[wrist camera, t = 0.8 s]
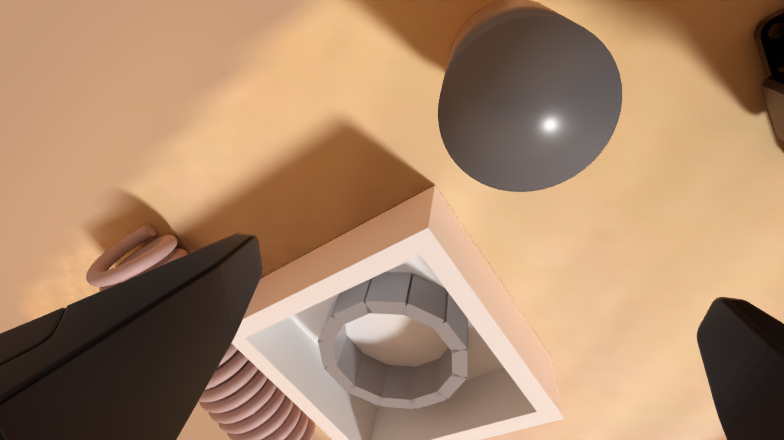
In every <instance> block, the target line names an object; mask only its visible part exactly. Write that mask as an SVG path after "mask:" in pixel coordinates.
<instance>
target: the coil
mask: <svg viewBox="0 0 784 440" xmlns="http://www.w3.org/2000/svg"><path fill="white" fill-rule="evenodd" d="M156 234H157V232H156V231H155V230H154V229H153V227H152V226H151V225H150V224H146V225H144V226H142V227H140V228H139V229H137V230H135V231H134V232H132V233H130V234H129V235H127V236H126V237H124V238H123V239H122V240H120V241H119V242H117V243H116V244H115V245H113V246H112V247H111V248H109V249H108V250H107V251H106V252H105V253H103V254H102V255H101V256H100V257H99V258H98V259H97V260H96V261H95V262H94V263H93V264H92V266H91V267H90V268H89V270H88V272H87V275H86V277H87V281H88V283H89V284H90V285H93V286H95V287H100V292H101V291H103V290H105V289H108V288H110V287H112V286H115V285H117V284H119V283H121V282H122V281H124V280H127V279H128V280H129V279H131V278H133V277H136V276H138V275H140V274H143V273H145V272H147V271H150V270H152V269H154V268H157V267H159V266H161V265H164V264H166V263H168V262H171V261H173V260H175V259H178V258H180V257H182V256H185V255H187V252H186V251H185V250H184V249H179V248H178V249H174V248H175V247H176V246H177V239H176V237H175V236H173V235H164V236H162V237H159V238H157V239H155V240H153V241H151V242H149V243H148V244H146V245H144V246H143V247H141V248H140V249H138V250H137V251H135V252H134V253H132V254H131V255H130V256H128V257H127V258H126V259H125V260H123V261H122V262H121V263H120V264H119V265H117V266H116V267H115V268H113V269H110V270H108V269H109V268H110V267H111V266H112V265H113V264H114V263H115V262H116V261H117V260H119V259H120V258H121V257H122V256H124V255H125V254H126V253H127V252H129V251H130V250H132V249H133V248H134V247H136V246H137V245H139V244H140V243H142V242H144V241H145V240H147V239H149V238H151V237H152V236H154V235H156ZM173 249H174V250H173ZM256 393H257V394H256ZM255 394H256V395H255ZM254 395H255V396H254ZM253 396H254V397H253ZM252 397H253V398H252ZM251 398H252V399H251ZM250 399H251V400H250ZM249 400H250V401H249ZM199 403H200V405H201V407H202V408H203V409H204V410H206V411H208V412H209V414H210V416H211V418H212V419H213V420H214V421H216V422H218V424H219V426H220V428H221V429H222V430H223V431H225V432H227V434H228V436H229V437H230V439H231V440H313V437H314V433H315V422H313V421H312V420H311V419H310V418H309V417H308V416H307V415H306V414H305V413H304V412H303V411H302V410H301V409H300V408H299V407H298V406H297V405H296V404H295V403H294V402H293V401H291V400H290V399H289V398H288V397H287V396H286V395H285V394H284V393H283V392H282V391H281V390H280V389H279V388H278V387H277V386H276V385H275V384H274V383H273V382H272V381H271V380H269V379H268V378H267V377H266V376H265V375H264V374H263V373H262V372H261V371H260V370H259V369H258V368H257V367H256V366H255V365H254V364H253V363H252V362H251V361H250V360H248V359H247V358H246V357H245V356H244V355H243V354H242V353H241V352H240V351H239V350H238V349H237V348H236V347H235V346H234V345H233V344H232V343H231V345H230V347H229V348H228V350H227V352H226V354H225V355H224V357H223V359H222V361H221V362H220V364H219V366H218V368H217V369H216V371H215V373H214V375H213V376H212V378H211V380H210V382H209V383H208V385H207V387H206V389H205V390H204V392H203V394H202V396H201V397H200V399H199ZM281 424H282V425H281ZM259 425H260V426H259ZM280 425H281V426H280ZM279 426H280V427H279ZM278 427H279V428H278ZM277 428H278V429H277ZM276 429H277V430H276ZM273 431H274V432H273ZM272 432H273V433H272ZM290 432H291V433H290ZM269 434H270V435H269Z"/></svg>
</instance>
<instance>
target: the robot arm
mask: <svg viewBox="0 0 784 440" xmlns="http://www.w3.org/2000/svg"><path fill="white" fill-rule="evenodd" d="M777 23H778V25H779V29H778V31H777V32H776V33H775V34H774V35H773V36H770V37H769V35H768V34H769V30H770V28H771V27H772V26H773V25H775V24H777ZM754 38H755V41H756V44H757V48H758V51H759V54H760V57H761V61H762V64H763V67H764V70H765V74H766V78H764V81H763V83H762V85H761V88H762V92H763V95H764V98H765V101H766V104H767V107H768V111H769V114H770V117H771V120H772V123H773V126H774V130H775V133H776V136H777V138H778V139H780V140H782V141H783V142H784V8H782V9H780V10H778V11H776V12H775V13H773V14H771V15H769V16H767V17H765V18H764V19H763V20H761V21H760V22H759V24H758V25H757V26H756V29H755V31H754ZM261 275H262V260H261V254H260V247H259V242H258V239H257V237H256V236H254V235H249V234H242V233H236V234H234V235H231V236H229V237H227V238H224V239H222V240H220V241H217V242H215V243H213V244H210V245H208V246H206V247H203V248H201V249H199V250H196V251H194V252H192V253H189V254H187V255H185V256H182V257H180V258H178V259H175V260H173V261H171V262H168V263H166V264H164V265H161V266H159V267H157V268H154V269H152V270H150V271H147V272H145V273H143V274H140V275H138V276H136V277H133V278H131V279H129V280H126V281H124V282H122V283H119V284H117V285H115V286H112V287H110V288H108V289H105V290H103V291H101V292H98V293H96V294H93V295H91V296H89V297H86V298H84V299H82V300H79V301H77V302H75V303H72V304H70V305H68V306H67V307H66V308H60V309H58V310H56V311H54V312H51V313H49V314H47V315H44V316H42V317H40V318H37V319H35V320H32V321H30V322H27V323H25V324H23V325H20V326H18V327H16V328H13V329H11V330H8V331H6V332H3V333H1V334H0V440H176V439H177V437H178V436H179V434H180V432H181V430H182V429H183V427H184V425H185V423H186V422H187V420H188V418H189V417H190V415H191V413H192V411H193V410H194V408H195V406H196V404H197V403H198V401H199V399H200V397H201V396H202V394H203V392H204V390H205V389H206V387H207V385H208V383H209V382H210V380H211V378H212V376H213V375H214V373H215V371H216V369H217V368H218V366H219V364H220V362H221V361H222V359H223V357H224V355H225V354H226V352H227V350H228V348H229V347H230V345H231V343H232V341H233V339H234V337H235V335H236V333H237V331H238V329H239V327H240V325H241V322H242V320H243V318H244V315H245V313H246V311H247V308H248V306H249V304H250V301H251V299H252V297H253V294H254V292H255V290H256V287H257V285H258V283H259V280H260V278H261ZM697 342H698V346H699V349H700V353H701V357H702V360H703V364H704V368H705V371H706V375H707V378H708V382H709V386H710V389H711V393H712V397H713V400H714V404H715V407H716V410H717V413H718V417H719V419H720V422H721V425H722V428H723V430H724V433H725V435H726V438H727V440H784V324H783V323H782V322H780V321H778V320H777V319H775V318H773V317H772V316H770V315H769V314H767V313H765V312H764V311H762V310H760V309H759V308H757V307H755V306H754V305H752V304H751V303H749V302H747V301H745V300H742V299H735V298H727V297H719V298H716V299H715V300H714V301H713V303H712V304H711V306H710V308H709V310H708V311H707V313H706V315H705V317H704V319H703V321H702V322H701V324H700V326H699V328H698V332H697Z"/></svg>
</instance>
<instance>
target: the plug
mask: <svg viewBox="0 0 784 440" xmlns="http://www.w3.org/2000/svg"><path fill="white" fill-rule="evenodd" d="M621 104H622V84H621V79H620V74H619V71H618V68H617V65H616V63H615V61H614V59H613V57H612V55H611V53H610V52H609V50H608V49H607V48H606V46H605V45H604V44H603V43H602V42H601V41H600V40H599V39H598V38H597V37H596V36H595V35H594V34H592V33H591V32H590V31H588V30H587V29H585V28H584V27H582V26H580V25H578V24H576V23H575V22H573V21H571V20H569V19H567V18H566V17H564V16H562V15H560V14H558V13H556V12H555V11H553V10H551V9H549V8H547V7H546V6H544V5H541V4H539V3H537V2H534V1H531V0H502V1H498V2H495V3H493V4H490V5H488V6H486V7H484V8H483V9H481V10H479V11H478V12H477V13H475V14H474V15H473V16H472V17H471V18H470V19H469V20H468V21H467V22H466V23H465V24H464V25H463V27H462V28H461V29H460V31H459V33H458V34H457V36H456V38H455V40H454V42H453V45H452V48H451V51H450V55H449V59H448V63H447V68H446V72H445V76H444V80H443V85H442V89H441V93H440V99H439V105H438V121H439V129H440V133H441V137H442V140H443V142H444V145H445V147H446V149H447V151H448V153H449V155H450V156H451V158H452V159H453V160H454V162H455V163H456V164H457V165H458V166H459V167H460V168H461V169H462V170H463V171H464V172H465V173H466V174H468V175H469V176H470V177H472V178H473V179H475V180H477V181H478V182H480V183H482V184H485V185H487V186H489V187H492V188H496V189H499V190H505V191H513V192H527V191H536V190H541V189H545V188H549V187H552V186H555V185H557V184H560V183H562V182H564V181H566V180H568V179H570V178H572V177H574V176H575V175H577V174H578V173H579V172H581V171H582V170H584V169H585V168H586V167H587V166H588V165H589V164H591V163H592V162H593V161H594V160H595V159H596V157H597V156H598V155H599V154H600V153H601V152H602V150H603V149H604V148H605V146H606V145H607V143H608V142H609V140H610V138H611V136H612V134H613V132H614V130H615V127H616V125H617V122H618V119H619V115H620V111H621Z"/></svg>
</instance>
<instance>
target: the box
mask: <svg viewBox="0 0 784 440" xmlns="http://www.w3.org/2000/svg"><path fill="white" fill-rule="evenodd" d="M232 344H233V345H234V346H235V347H236V348H237V349H238V350H239V351H240V352H241V353H242V354H243V355H244V356H245V357H246V358H247V359H248V360H250V361H251V362H252V363H253V364H254V365H255V366H256V367H257V368H258V369H259V370H260V371H261V372H262V373H263V374H264V375H265V376H266V377H267V378H268V379H269V380H271V381H272V382H273V383H274V384H275V385H276V386H277V387H278V388H279V389H280V390H281V391H282V392H283V393H284V394H285V395H286V396H287V397H288V398H289V399H290V400H291V401H293V402H294V403H295V404H296V405H297V406H298V407H299V408H300V409H301V410H302V411H303V412H304V413H305V414H306V415H307V416H308V417H309V418H310V419H311V420H312V421H313V422H315V423H316V424H317V425H318V426H319V427H320V428H321V429H322V430H323V431H324V432H325V433H326V434H327V435H328V436H329V437H330V438H331V439H332V440H481V439H485V438H489V437H493V436H497V435H501V434H505V433H509V432H513V431H517V430H521V429H525V428H529V427H533V426H537V425H541V424H545V423H549V422H553V421H557V420H561V419H564V415H563V410H562V405H561V400H560V395H559V390H558V386H557V381H556V376H555V371H554V366H553V361H552V358H551V356H550V355H549V353H548V352H547V350H546V349H545V347H544V346H543V344H542V343H541V341H540V340H539V338H538V337H537V335H536V334H535V332H534V331H533V329H532V328H531V326H530V325H529V324H528V322H527V321H526V319H525V318H524V316H523V315H522V313H521V312H520V310H519V309H518V307H517V306H516V304H515V303H514V301H513V300H512V298H511V297H510V295H509V294H508V292H507V291H506V289H505V288H504V287H503V285H502V284H501V282H500V281H499V279H498V278H497V276H496V275H495V273H494V272H493V270H492V269H491V267H490V266H489V264H488V263H487V261H486V260H485V258H484V257H483V255H482V254H481V252H480V251H479V250H478V248H477V247H476V245H475V244H474V242H473V241H472V239H471V238H470V236H469V235H468V233H467V232H466V230H465V229H464V227H463V226H462V224H461V223H460V221H459V220H458V218H457V217H456V215H455V214H454V213H453V211H452V210H451V208H450V207H449V205H448V204H447V202H446V201H445V199H444V198H443V196H442V195H441V193H440V192H439V190H438V189H437V187H436V186H435V185H434V186H432V187H431V188H429V189H427V190H425V191H423V192H421V193H419V194H418V195H416V196H414V197H412V198H410V199H408V200H406V201H404V202H403V203H401V204H399V205H397V206H395V207H393V208H391V209H390V210H388V211H386V212H384V213H382V214H380V215H378V216H377V217H375V218H373V219H371V220H369V221H367V222H365V223H364V224H362V225H360V226H358V227H356V228H354V229H352V230H350V231H349V232H347V233H345V234H343V235H341V236H339V237H337V238H336V239H334V240H332V241H330V242H328V243H326V244H324V245H323V246H321V247H319V248H317V249H315V250H313V251H311V252H310V253H308V254H306V255H304V256H302V257H300V258H298V259H296V260H295V261H293V262H291V263H289V264H287V265H285V266H283V267H282V268H280V269H278V270H276V271H274V272H272V273H270V274H269V275H267V276H265V277H263V278H261V279H260V280H259V283H258V285H257V287H256V290H255V292H254V294H253V297H252V299H251V301H250V304H249V306H248V308H247V311H246V313H245V315H244V318H243V320H242V322H241V325H240V327H239V329H238V331H237V333H236V335H235V337H234V339H233V341H232Z"/></svg>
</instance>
